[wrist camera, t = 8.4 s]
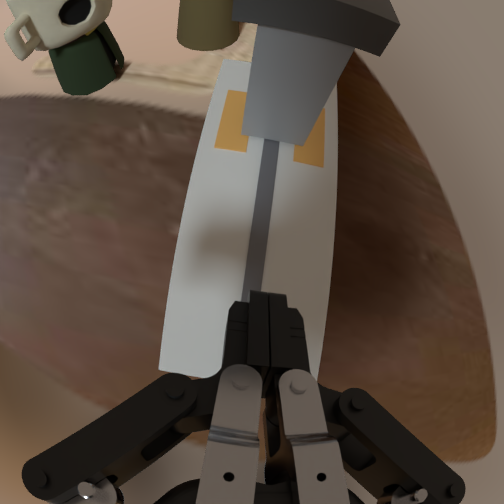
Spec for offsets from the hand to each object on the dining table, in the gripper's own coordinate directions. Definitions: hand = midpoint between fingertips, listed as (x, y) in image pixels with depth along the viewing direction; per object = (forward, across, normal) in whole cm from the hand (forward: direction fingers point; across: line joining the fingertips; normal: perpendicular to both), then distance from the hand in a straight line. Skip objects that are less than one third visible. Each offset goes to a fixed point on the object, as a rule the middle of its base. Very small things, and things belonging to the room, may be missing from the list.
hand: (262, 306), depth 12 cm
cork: (+21, +7, -12) cm, 26 cm away
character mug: (+16, +17, -8) cm, 25 cm away
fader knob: (+11, 0, -6) cm, 12 cm away
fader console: (+9, 0, 0) cm, 9 cm away
